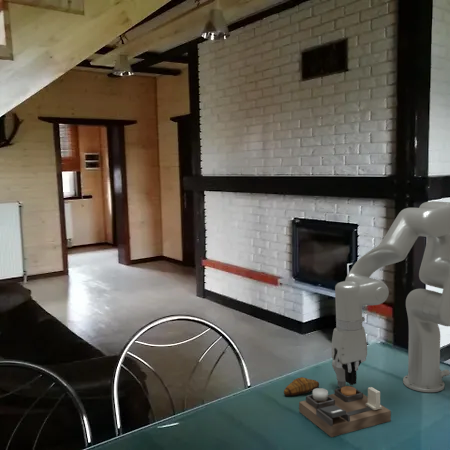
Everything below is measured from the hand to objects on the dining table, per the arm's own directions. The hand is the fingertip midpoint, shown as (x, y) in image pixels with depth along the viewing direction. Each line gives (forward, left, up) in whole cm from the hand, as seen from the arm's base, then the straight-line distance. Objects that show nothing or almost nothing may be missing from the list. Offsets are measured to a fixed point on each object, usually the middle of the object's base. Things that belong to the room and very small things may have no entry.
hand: (350, 382), depth 151 cm
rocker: (+13, +9, -3) cm, 16 cm away
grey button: (+11, 0, -2) cm, 11 cm away
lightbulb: (-5, -11, -7) cm, 14 cm away
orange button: (+1, 0, -4) cm, 4 cm away
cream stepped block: (-1, +9, -4) cm, 10 cm away
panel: (+6, +5, -7) cm, 10 cm away
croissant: (+8, -15, -8) cm, 18 cm away
